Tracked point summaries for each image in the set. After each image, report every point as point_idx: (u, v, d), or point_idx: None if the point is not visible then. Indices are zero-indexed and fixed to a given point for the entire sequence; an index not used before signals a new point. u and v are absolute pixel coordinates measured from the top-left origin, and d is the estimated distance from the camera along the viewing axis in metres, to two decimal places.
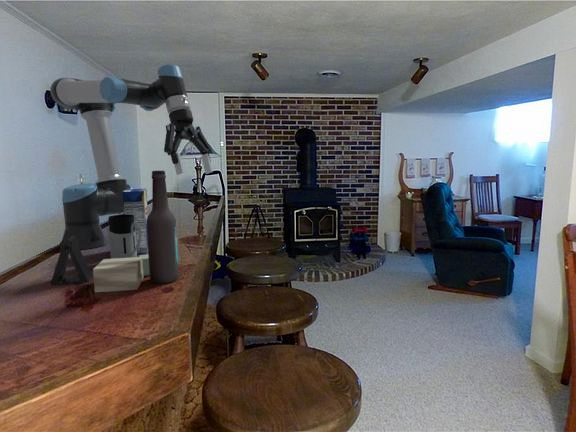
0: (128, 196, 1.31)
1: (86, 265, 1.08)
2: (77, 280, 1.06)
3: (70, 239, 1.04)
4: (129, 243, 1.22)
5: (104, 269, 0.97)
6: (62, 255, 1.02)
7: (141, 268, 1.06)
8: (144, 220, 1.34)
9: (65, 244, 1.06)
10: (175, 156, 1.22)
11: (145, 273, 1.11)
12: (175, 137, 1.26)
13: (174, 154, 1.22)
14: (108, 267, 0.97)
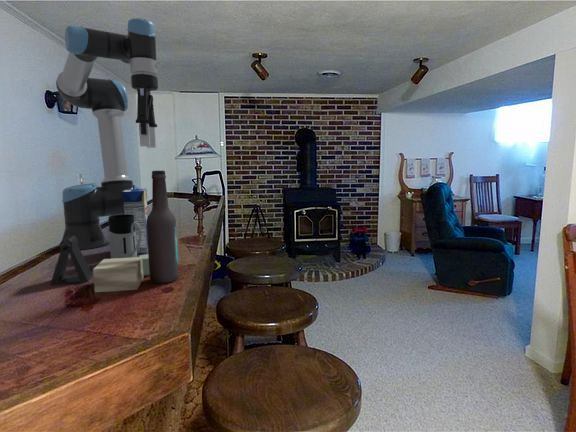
0: (128, 196, 1.31)
1: (86, 265, 1.08)
2: (77, 280, 1.06)
3: (70, 239, 1.04)
4: (129, 243, 1.22)
5: (104, 269, 0.97)
6: (62, 255, 1.02)
7: (141, 268, 1.06)
8: (144, 220, 1.34)
9: (65, 244, 1.06)
10: (146, 127, 1.11)
11: (145, 273, 1.11)
12: None
13: (145, 124, 1.11)
14: (108, 267, 0.97)
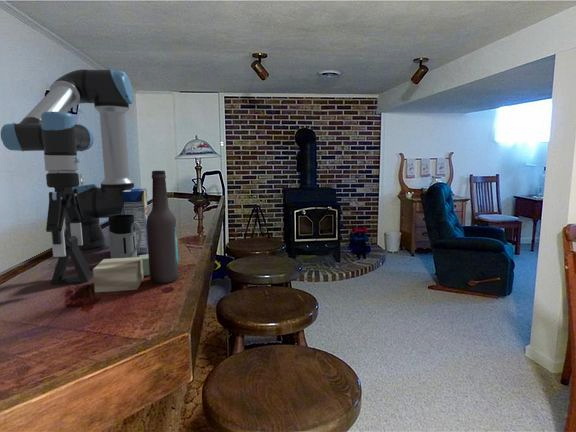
0: (128, 196, 1.31)
1: (86, 265, 1.08)
2: (77, 280, 1.06)
3: (70, 239, 1.04)
4: (129, 243, 1.22)
5: (104, 269, 0.97)
6: None
7: (141, 268, 1.06)
8: (144, 220, 1.34)
9: (65, 244, 1.06)
10: (59, 236, 0.97)
11: (145, 273, 1.11)
12: None
13: (58, 233, 0.97)
14: (108, 267, 0.97)
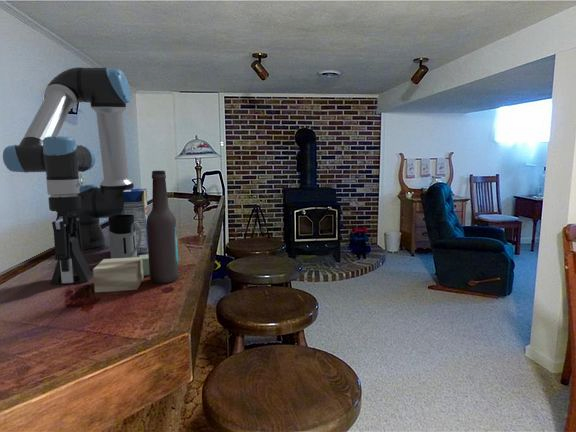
0: (128, 196, 1.31)
1: (86, 265, 1.08)
2: (77, 279, 1.06)
3: (70, 239, 1.04)
4: (129, 243, 1.22)
5: (104, 269, 0.97)
6: None
7: (141, 268, 1.06)
8: (144, 220, 1.34)
9: None
10: (67, 263, 1.02)
11: (145, 273, 1.11)
12: None
13: (66, 261, 1.01)
14: (108, 267, 0.97)
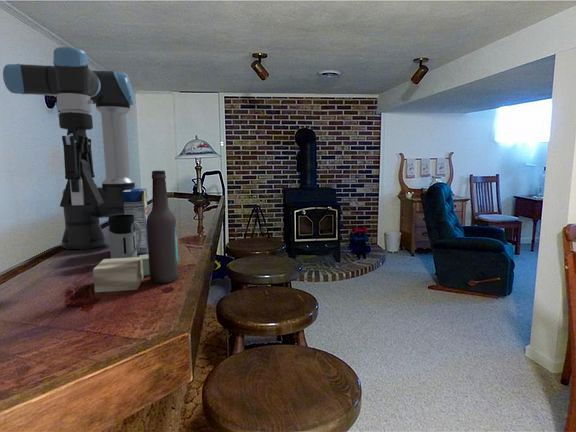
0: (128, 196, 1.31)
1: (97, 191, 1.03)
2: (88, 204, 1.00)
3: None
4: (129, 243, 1.22)
5: (104, 269, 0.97)
6: None
7: (141, 268, 1.06)
8: (144, 220, 1.34)
9: None
10: (77, 183, 0.96)
11: (145, 273, 1.11)
12: None
13: (77, 181, 0.96)
14: (108, 267, 0.97)
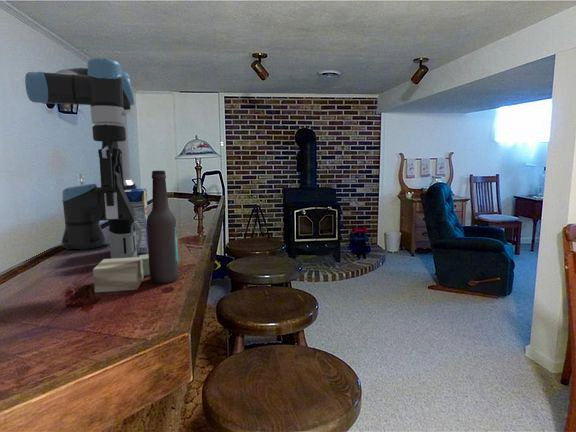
0: (128, 196, 1.31)
1: (129, 203, 1.02)
2: (121, 217, 0.99)
3: None
4: (129, 243, 1.22)
5: (104, 269, 0.97)
6: None
7: (141, 268, 1.06)
8: (144, 220, 1.34)
9: None
10: (112, 197, 0.95)
11: (145, 273, 1.11)
12: None
13: (112, 194, 0.95)
14: (108, 267, 0.97)
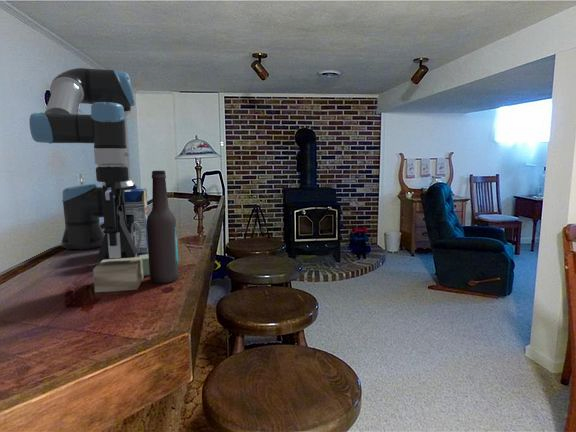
0: (128, 196, 1.31)
1: (131, 241, 1.03)
2: (124, 255, 1.00)
3: None
4: None
5: (104, 269, 0.97)
6: None
7: (141, 268, 1.06)
8: (144, 220, 1.34)
9: None
10: (115, 237, 0.96)
11: (145, 273, 1.11)
12: None
13: (115, 235, 0.96)
14: (108, 267, 0.97)
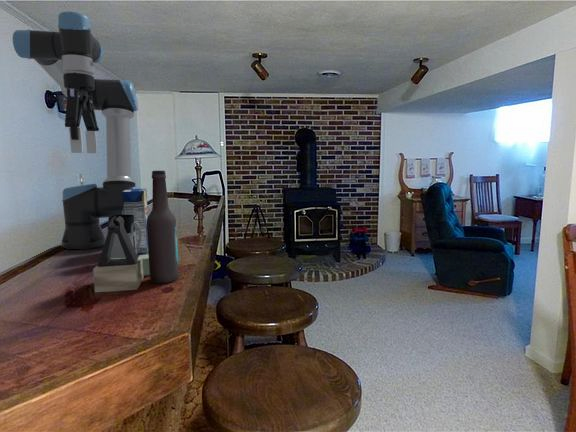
0: (128, 196, 1.31)
1: (132, 247, 1.03)
2: (124, 262, 1.01)
3: (117, 219, 0.99)
4: None
5: (104, 269, 0.97)
6: (110, 236, 0.97)
7: (141, 268, 1.06)
8: (144, 220, 1.34)
9: (112, 225, 1.01)
10: (77, 131, 1.01)
11: (145, 273, 1.11)
12: None
13: (76, 129, 1.00)
14: (108, 267, 0.97)
